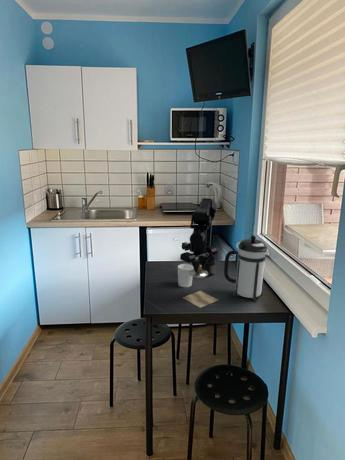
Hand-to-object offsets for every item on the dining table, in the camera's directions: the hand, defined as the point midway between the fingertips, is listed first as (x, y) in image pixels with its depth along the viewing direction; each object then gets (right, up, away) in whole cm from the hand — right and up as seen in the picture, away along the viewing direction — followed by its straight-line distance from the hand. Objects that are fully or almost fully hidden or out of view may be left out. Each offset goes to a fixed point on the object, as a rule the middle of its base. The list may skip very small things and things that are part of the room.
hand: (198, 271), depth 152 cm
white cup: (-6, -9, +15) cm, 18 cm away
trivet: (+1, -13, 0) cm, 13 cm away
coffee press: (+23, -12, +5) cm, 26 cm away
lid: (0, -1, 0) cm, 1 cm away
